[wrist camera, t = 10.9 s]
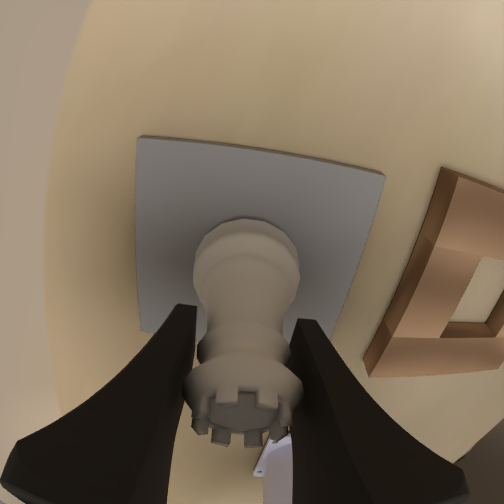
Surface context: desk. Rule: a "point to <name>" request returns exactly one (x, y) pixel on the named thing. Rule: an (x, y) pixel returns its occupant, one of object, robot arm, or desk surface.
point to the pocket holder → (444, 288)
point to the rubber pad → (247, 207)
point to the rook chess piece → (244, 334)
